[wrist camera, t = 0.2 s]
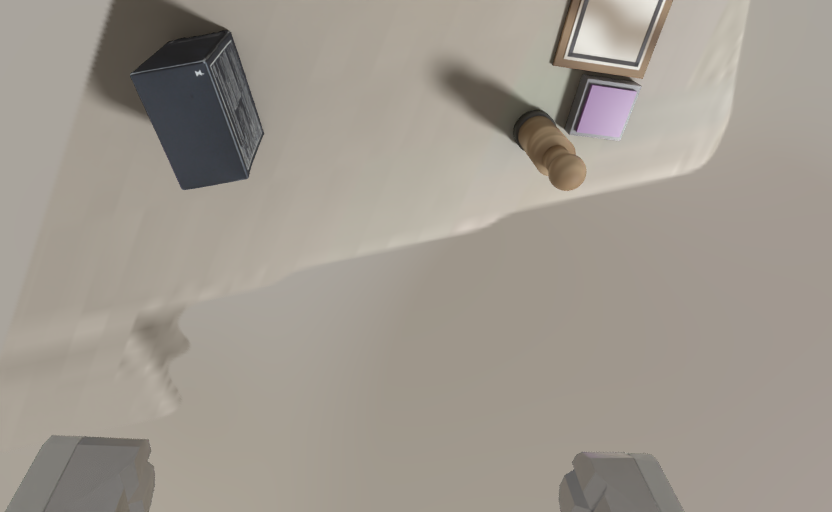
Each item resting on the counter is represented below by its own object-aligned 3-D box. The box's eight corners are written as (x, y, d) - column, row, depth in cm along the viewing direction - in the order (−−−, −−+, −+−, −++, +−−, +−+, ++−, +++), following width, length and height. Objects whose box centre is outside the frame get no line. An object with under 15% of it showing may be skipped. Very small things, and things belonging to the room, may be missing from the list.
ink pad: (582, 74, 55) (589, 79, 54) (634, 81, 56) (643, 87, 55) (564, 129, 58) (570, 136, 57) (614, 135, 60) (621, 142, 58)
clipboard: (584, -47, 49) (588, -46, 48) (681, -28, 51) (686, -27, 50) (552, 64, 54) (555, 67, 54) (640, 77, 56) (644, 80, 55)
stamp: (519, 107, 56) (558, 155, 46) (558, 112, 57) (604, 160, 47) (508, 146, 59) (543, 199, 49) (546, 150, 60) (587, 203, 49)
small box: (161, 40, 49) (122, 72, 41) (231, 28, 49) (206, 56, 41) (204, 146, 55) (178, 193, 47) (266, 135, 55) (251, 179, 47)
